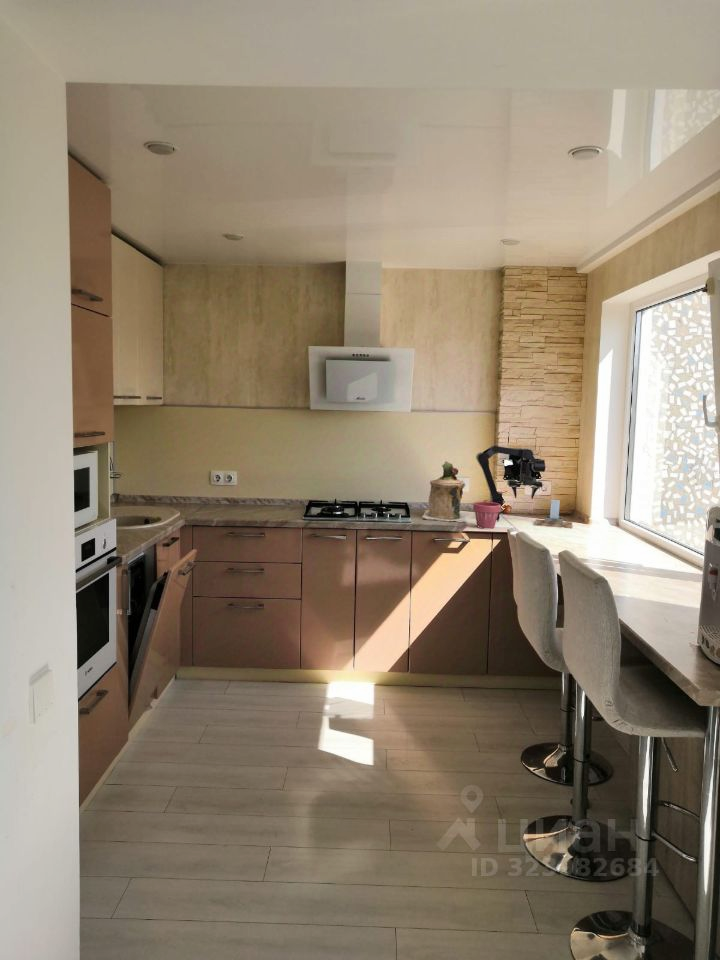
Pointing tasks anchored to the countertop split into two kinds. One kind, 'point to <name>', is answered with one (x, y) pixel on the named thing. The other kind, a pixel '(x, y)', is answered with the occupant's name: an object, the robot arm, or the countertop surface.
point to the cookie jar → (446, 497)
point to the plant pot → (486, 513)
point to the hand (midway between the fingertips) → (523, 498)
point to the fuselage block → (554, 509)
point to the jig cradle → (553, 522)
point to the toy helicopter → (507, 508)
